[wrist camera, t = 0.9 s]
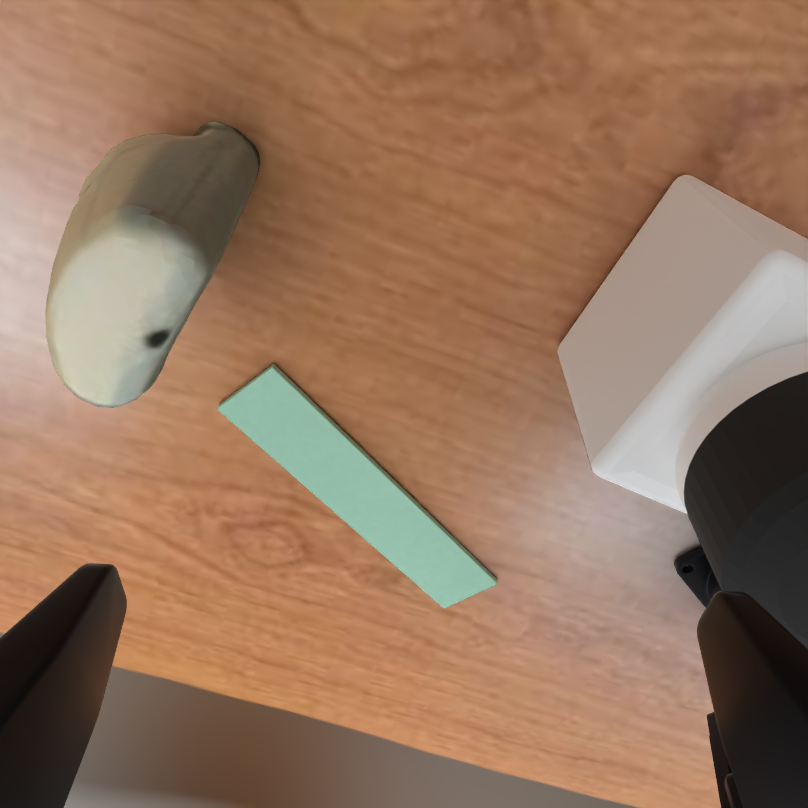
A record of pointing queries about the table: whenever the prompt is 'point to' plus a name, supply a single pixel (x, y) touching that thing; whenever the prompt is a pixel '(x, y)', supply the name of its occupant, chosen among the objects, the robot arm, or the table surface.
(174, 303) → the beige rounded chunk
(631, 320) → the security camera
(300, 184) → the table surface
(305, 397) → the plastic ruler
